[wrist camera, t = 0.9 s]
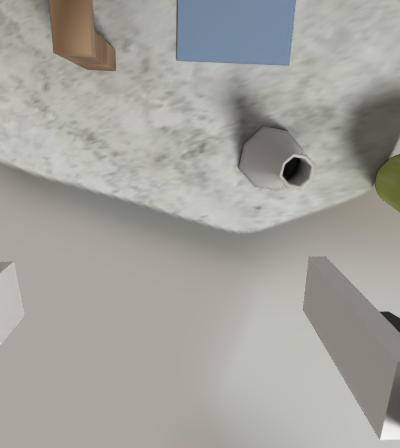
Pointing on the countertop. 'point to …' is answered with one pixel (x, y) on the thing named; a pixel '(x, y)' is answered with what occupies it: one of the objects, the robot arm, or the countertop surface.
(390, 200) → the plant pot
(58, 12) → the bridge
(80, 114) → the countertop surface
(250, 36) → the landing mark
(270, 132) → the flask
